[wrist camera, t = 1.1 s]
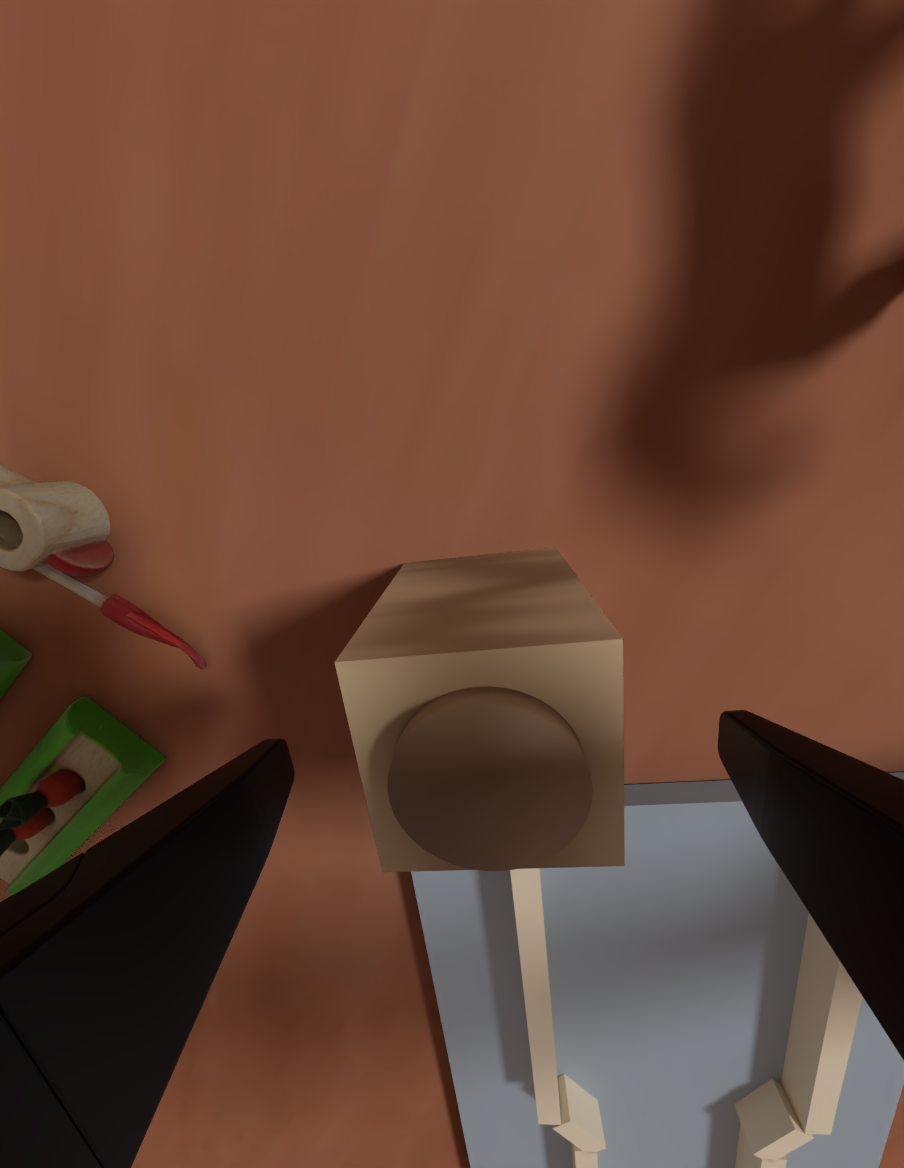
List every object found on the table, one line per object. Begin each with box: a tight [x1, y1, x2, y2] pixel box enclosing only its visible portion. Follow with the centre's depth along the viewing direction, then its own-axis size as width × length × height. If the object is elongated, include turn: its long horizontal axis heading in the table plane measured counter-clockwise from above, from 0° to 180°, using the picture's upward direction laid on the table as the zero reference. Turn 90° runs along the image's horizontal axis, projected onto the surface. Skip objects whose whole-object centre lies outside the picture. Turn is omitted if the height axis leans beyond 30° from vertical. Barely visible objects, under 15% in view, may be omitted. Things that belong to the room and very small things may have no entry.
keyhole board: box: [411, 772, 904, 1168], centre depth 19 cm, size 20×27×2 cm
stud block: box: [335, 547, 625, 872], centre depth 11 cm, size 5×5×8 cm
